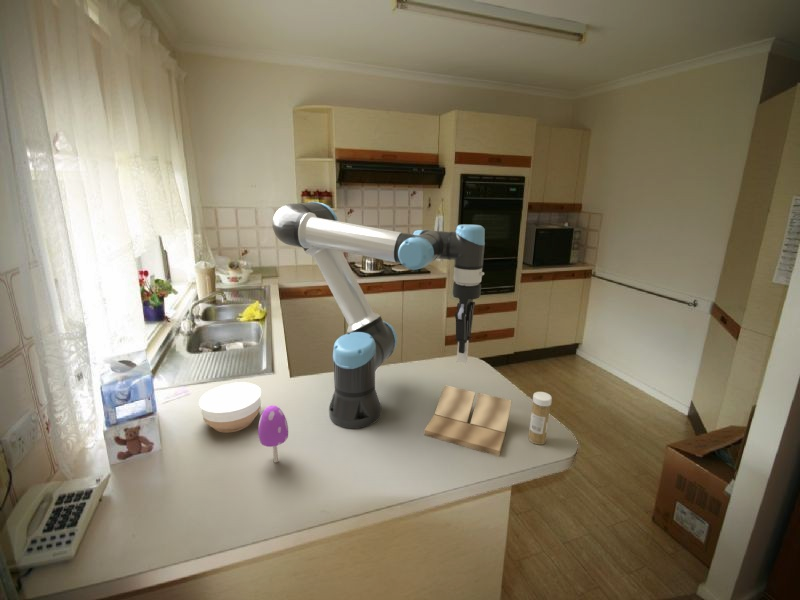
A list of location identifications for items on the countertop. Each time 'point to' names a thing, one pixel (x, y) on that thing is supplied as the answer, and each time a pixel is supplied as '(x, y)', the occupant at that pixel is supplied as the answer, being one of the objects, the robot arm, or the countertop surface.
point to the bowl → (231, 406)
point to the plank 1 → (455, 404)
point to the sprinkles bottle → (539, 417)
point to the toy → (273, 429)
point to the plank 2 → (491, 412)
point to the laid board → (465, 434)
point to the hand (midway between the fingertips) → (461, 361)
